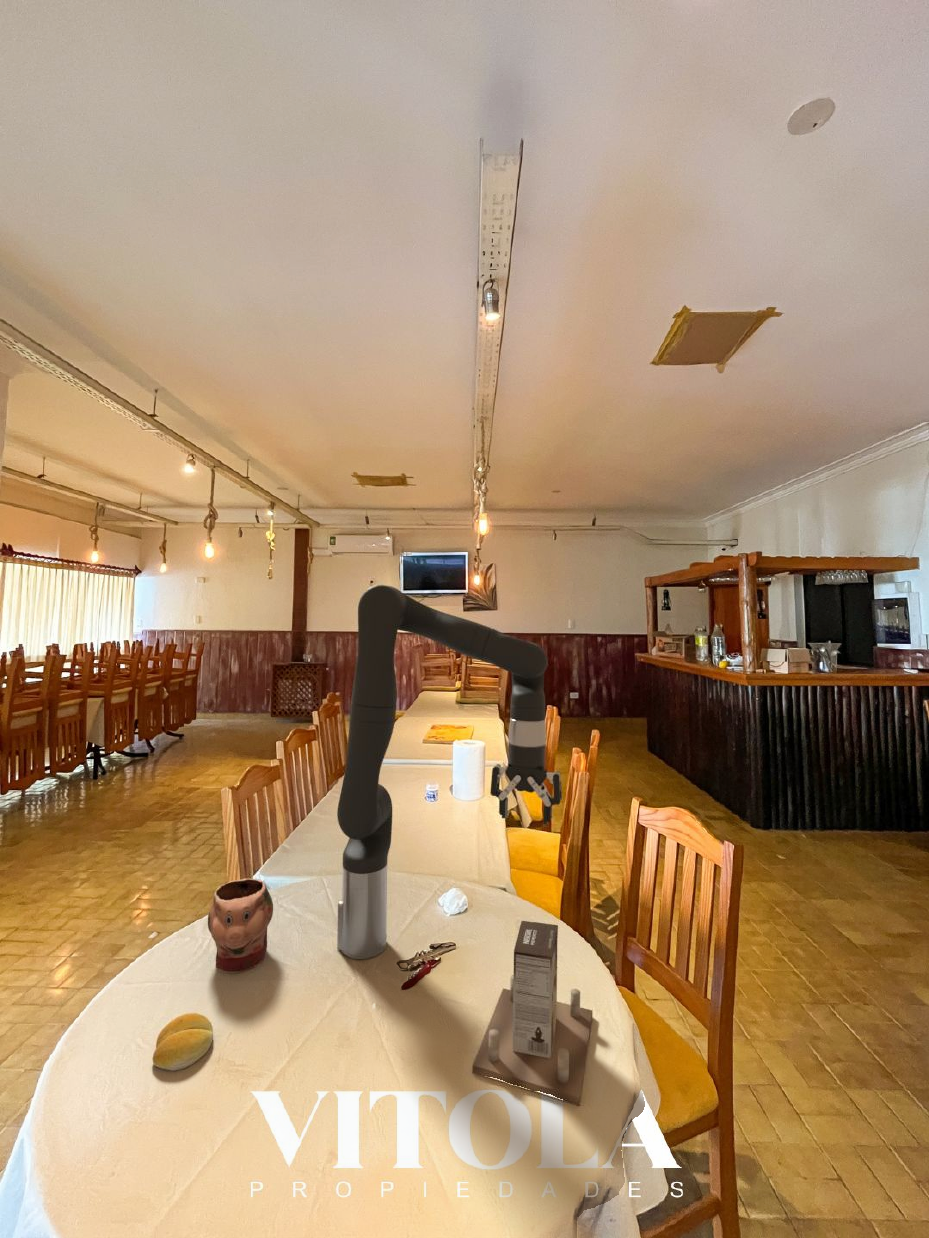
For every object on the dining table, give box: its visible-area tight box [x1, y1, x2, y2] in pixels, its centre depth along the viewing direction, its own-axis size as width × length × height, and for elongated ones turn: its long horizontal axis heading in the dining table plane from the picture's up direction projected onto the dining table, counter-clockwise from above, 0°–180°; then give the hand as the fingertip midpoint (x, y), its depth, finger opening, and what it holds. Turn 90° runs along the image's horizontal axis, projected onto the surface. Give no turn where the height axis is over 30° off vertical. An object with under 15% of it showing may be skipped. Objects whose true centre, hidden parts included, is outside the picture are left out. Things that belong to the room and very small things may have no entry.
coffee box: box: [513, 920, 559, 1059], centre depth 88 cm, size 9×6×16 cm
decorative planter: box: [207, 877, 274, 973], centre depth 109 cm, size 20×12×14 cm, turn 24°
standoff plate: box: [472, 974, 593, 1106], centre depth 88 cm, size 16×18×5 cm
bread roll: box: [152, 1012, 214, 1072], centre depth 86 cm, size 8×9×4 cm
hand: (525, 820), depth 110 cm, fingers open, 8 cm apart
